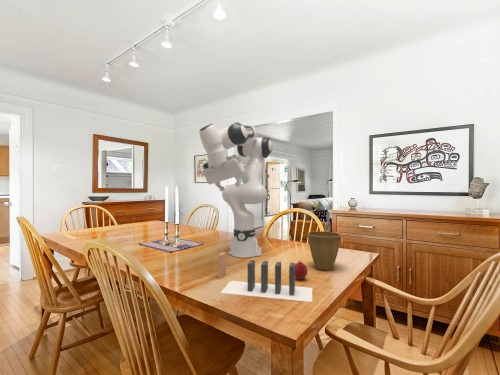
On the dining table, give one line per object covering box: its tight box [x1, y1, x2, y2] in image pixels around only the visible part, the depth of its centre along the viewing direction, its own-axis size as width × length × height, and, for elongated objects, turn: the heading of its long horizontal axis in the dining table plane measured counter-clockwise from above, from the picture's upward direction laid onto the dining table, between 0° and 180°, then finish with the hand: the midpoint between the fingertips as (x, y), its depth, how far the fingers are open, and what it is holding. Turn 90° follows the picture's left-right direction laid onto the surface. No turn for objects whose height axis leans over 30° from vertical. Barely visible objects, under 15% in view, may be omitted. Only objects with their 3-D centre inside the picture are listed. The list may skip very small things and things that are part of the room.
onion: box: [295, 260, 308, 281], centre depth 108 cm, size 6×6×8 cm
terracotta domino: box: [217, 251, 227, 280], centre depth 112 cm, size 5×2×10 cm, turn 166°
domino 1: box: [247, 259, 256, 292], centre depth 98 cm, size 5×2×10 cm, turn 166°
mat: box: [220, 280, 313, 303], centre depth 97 cm, size 12×32×1 cm, turn 76°
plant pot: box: [307, 230, 342, 271], centre depth 123 cm, size 15×15×16 cm
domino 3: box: [274, 261, 282, 294], centre depth 96 cm, size 5×2×10 cm, turn 166°
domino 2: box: [260, 260, 269, 293], centre depth 97 cm, size 5×2×10 cm, turn 166°
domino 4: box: [288, 262, 296, 296], centre depth 95 cm, size 5×2×10 cm, turn 166°
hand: (230, 188), depth 121 cm, fingers open, 8 cm apart
